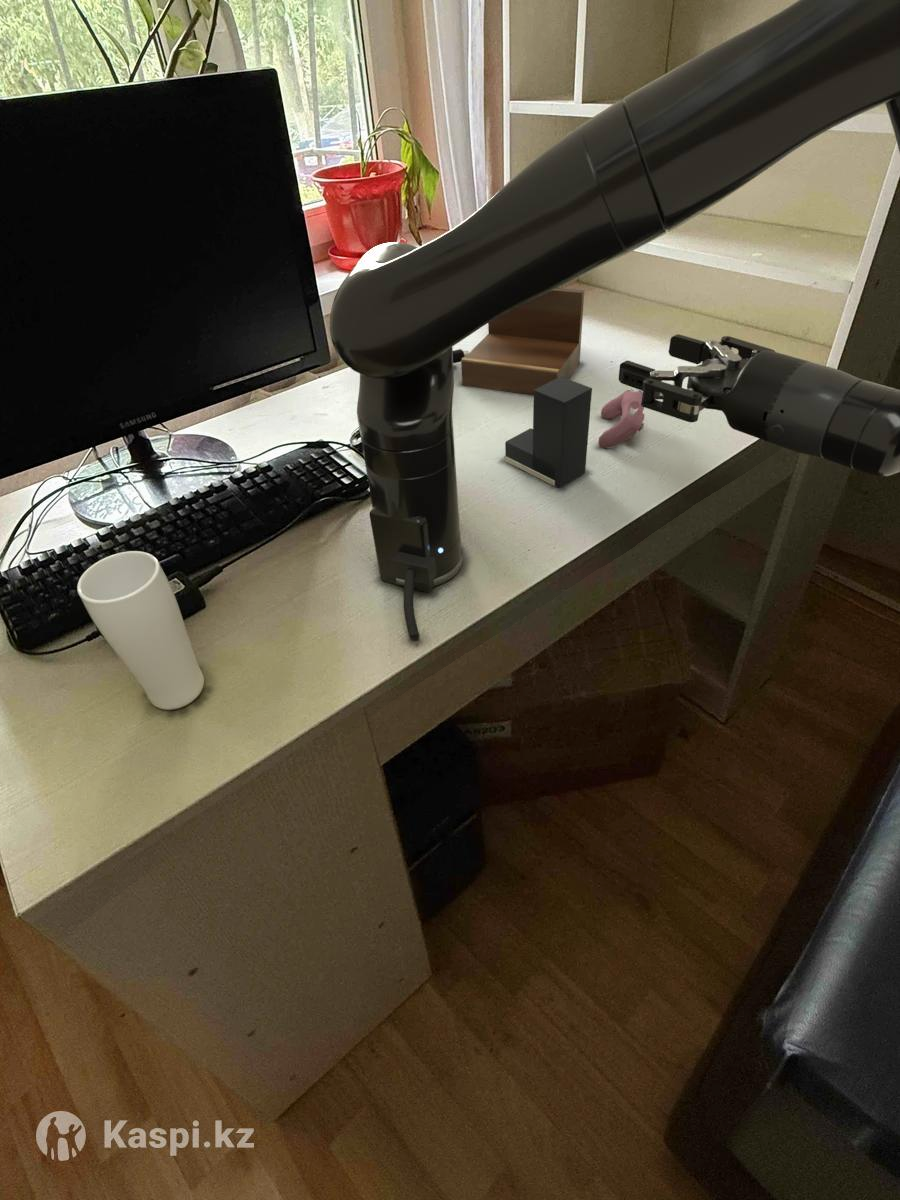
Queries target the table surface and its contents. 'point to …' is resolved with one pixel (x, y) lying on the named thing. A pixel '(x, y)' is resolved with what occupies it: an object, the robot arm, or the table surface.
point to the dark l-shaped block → (554, 434)
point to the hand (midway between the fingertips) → (646, 357)
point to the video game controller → (623, 418)
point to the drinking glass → (143, 626)
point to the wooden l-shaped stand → (529, 345)
